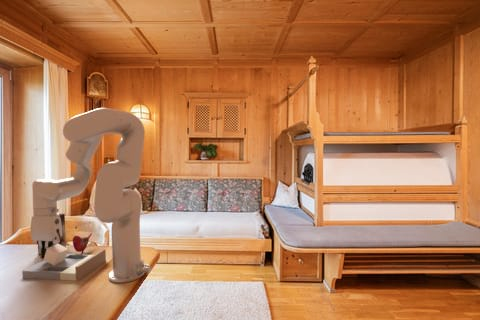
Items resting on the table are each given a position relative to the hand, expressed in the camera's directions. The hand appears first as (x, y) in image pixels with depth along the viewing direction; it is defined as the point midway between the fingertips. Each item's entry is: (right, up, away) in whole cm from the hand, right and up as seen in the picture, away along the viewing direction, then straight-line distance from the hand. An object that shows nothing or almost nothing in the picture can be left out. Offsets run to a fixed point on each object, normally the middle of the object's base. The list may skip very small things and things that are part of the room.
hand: (46, 257), depth 107 cm
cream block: (+3, -1, -1) cm, 4 cm away
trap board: (+8, -4, -1) cm, 9 cm away
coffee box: (-10, -4, +17) cm, 20 cm away
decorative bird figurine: (+6, -4, +15) cm, 16 cm away
